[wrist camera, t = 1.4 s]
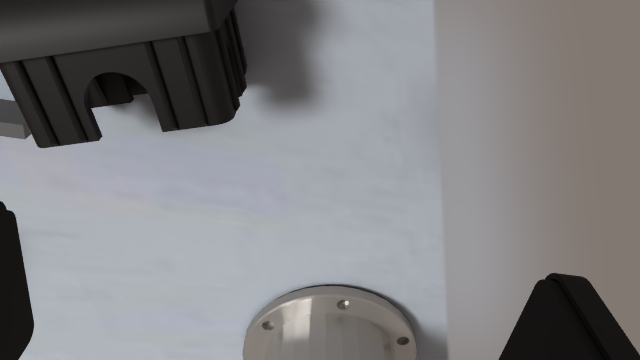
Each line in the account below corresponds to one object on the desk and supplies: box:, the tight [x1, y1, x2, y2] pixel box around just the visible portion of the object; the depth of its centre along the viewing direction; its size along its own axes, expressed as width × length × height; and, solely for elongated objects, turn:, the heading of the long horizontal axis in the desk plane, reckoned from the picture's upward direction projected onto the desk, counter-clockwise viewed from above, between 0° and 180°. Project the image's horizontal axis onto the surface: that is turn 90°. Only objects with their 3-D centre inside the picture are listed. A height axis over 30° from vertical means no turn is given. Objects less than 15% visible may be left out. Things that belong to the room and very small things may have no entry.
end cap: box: [0, 0, 247, 148], centre depth 22 cm, size 10×7×7 cm
